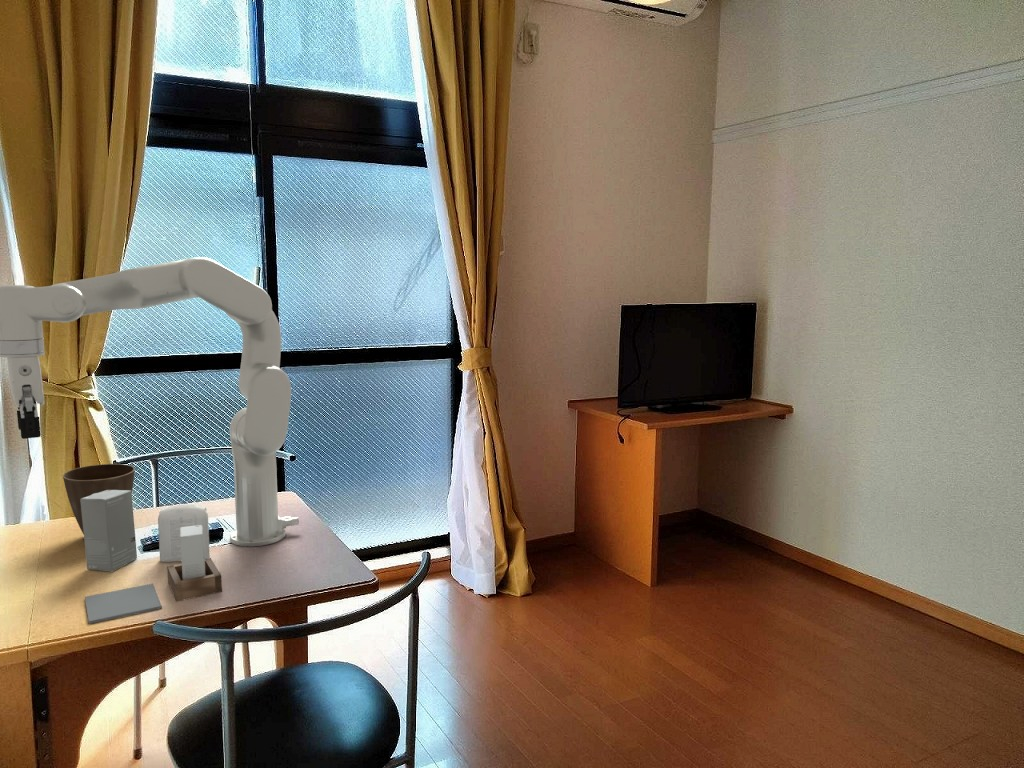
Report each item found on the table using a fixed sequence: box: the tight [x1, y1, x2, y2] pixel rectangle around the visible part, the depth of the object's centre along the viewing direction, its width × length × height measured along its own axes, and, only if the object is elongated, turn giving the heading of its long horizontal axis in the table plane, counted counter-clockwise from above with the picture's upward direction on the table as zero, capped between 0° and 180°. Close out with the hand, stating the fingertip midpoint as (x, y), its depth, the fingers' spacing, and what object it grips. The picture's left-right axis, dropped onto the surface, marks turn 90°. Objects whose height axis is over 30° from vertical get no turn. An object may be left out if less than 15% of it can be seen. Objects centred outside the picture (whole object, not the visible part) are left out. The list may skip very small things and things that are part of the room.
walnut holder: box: [166, 557, 223, 602], centre depth 149 cm, size 8×10×4 cm
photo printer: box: [157, 503, 211, 563], centre depth 163 cm, size 10×4×12 cm, turn 103°
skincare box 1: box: [80, 490, 138, 573], centre depth 159 cm, size 8×7×16 cm
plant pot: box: [62, 463, 136, 536], centre depth 176 cm, size 15×15×16 cm
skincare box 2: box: [180, 525, 206, 580], centre depth 148 cm, size 6×4×12 cm
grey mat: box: [84, 583, 163, 625], centre depth 141 cm, size 12×12×1 cm
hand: (29, 433), depth 148 cm, fingers open, 9 cm apart
